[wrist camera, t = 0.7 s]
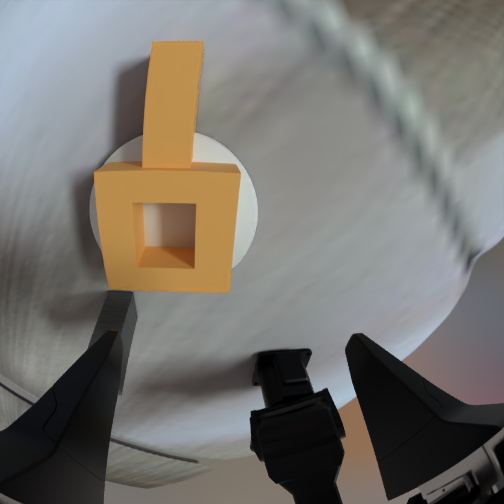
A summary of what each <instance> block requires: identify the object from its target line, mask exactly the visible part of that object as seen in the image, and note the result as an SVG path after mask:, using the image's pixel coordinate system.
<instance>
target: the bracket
mask: <svg viewBox="0 0 504 504" xmlns="http://www.w3.org/2000/svg"><path fill="white" fill-rule="evenodd" d="M203 55H204V45H203V41H162V42H152V48H151V55H150V62H149V70H148V78H147V87H146V98H145V111H144V127H143V135H141V136H138V137H136V138H134V139H132V140H130V141H129V142H127V143H125V144H124V145H123V146H121V147H120V148H119V149H117V150H116V151H115V152H114V153H113V154H112V155H111V156H110V157H109V158H108V159H107V161H106V162H105V163H104V165H103V166H102V167H101V168H99V169H98V170H96V171H94V184H93V187H92V192H91V196H90V206H89V210H90V221H91V227H92V230H93V233H94V237H95V239H96V241H97V243H98V245H99V247H100V249H101V251H102V254H103V260H104V266H105V271H106V276H107V281H108V286H109V289H118V290H138V291H161V292H195V293H230V282H231V271H232V269H233V268H234V267H235V266H236V265H237V264H238V263H239V262H240V261H241V260H242V258H243V257H244V255H245V254H246V252H247V251H248V249H249V247H250V245H251V243H252V240H253V237H254V235H255V231H256V226H257V219H258V206H257V198H256V194H255V190H254V187H253V184H252V182H251V179H250V177H249V176H248V174H247V172H246V170H245V168H244V167H243V165H242V164H241V163H240V161H239V160H238V159H237V158H236V157H235V156H234V155H233V154H232V153H231V152H230V151H229V150H228V149H227V148H226V147H224V146H223V145H222V144H220V143H219V142H217V141H215V140H214V139H212V138H210V137H208V136H205V135H203V134H200V133H197V132H195V127H196V116H197V105H198V96H199V87H200V78H201V70H202V63H203Z"/></svg>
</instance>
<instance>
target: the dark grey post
mask: <svg viewBox="0 0 504 504" xmlns="http://www.w3.org/2000/svg"><path fill="white" fill-rule="evenodd" d="M137 317H138V316H137V311H136V305H135V300H134V294H133V292H116V291H109V293H108V296H107V298H106V300H105V303H104V305H103V308H102V310H101V313H100V315H99V318H98V321H97V323H96V326H95V329H94V332H93V334H92V337H91V340H90V343H89V346H88V349H89V348H90V347H91V346H92V345H93V344H94V343H95V342H96V341H97V340H98V339H99V338H100V337H101V336H102V335H103V334H104V333H105V332H106V331H107V330H108V329H113V330H118V331H119V332H120V335H121V339H122V344H123V357H122V365H121V375H120V385H119V392H118V394H119V395H122V391H123V385H124V379H125V373H126V368H127V363H128V358H129V353H130V348H131V344H132V339H133V334H134V330H135V326H136V322H137ZM88 349H87V350H88Z"/></svg>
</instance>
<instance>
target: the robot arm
mask: <svg viewBox="0 0 504 504" xmlns="http://www.w3.org/2000/svg"><path fill="white" fill-rule="evenodd" d="M345 354H346V358H347V362H348V366H349V371H350V375H351V379H352V383H353V386H354V389H355V392H356V395H357V398H358V401H359V404H360V407H361V410H362V413H363V416H364V420H365V423H366V426H367V429H368V432H369V435H370V439H371V442H372V445H373V448H374V452H375V455H376V459H377V462H378V466H379V470H380V473H381V477H382V481H383V485H384V488H385V492H386V496H387V499H388V500H391V499H394V498H396V497H398V496H400V495H403V494H405V493H407V492H409V491H411V490H413V489H415V488H417V487H419V490H420V493H418V494H416V495H415V496H413V497H411V498H409V500H408V502H407V504H504V403H499V404H489V405H468V404H466V403H463V402H461V401H460V400H458V399H456V398H455V397H453V396H451V395H450V394H448V393H446V392H445V391H443V390H441V389H440V388H438V387H437V386H435V385H434V384H432V383H431V382H429V381H428V380H426V379H425V378H424V377H422V376H421V375H419V374H418V373H417V372H415V371H414V370H413V369H411V368H410V367H408V366H407V365H406V364H404V363H403V362H401V361H400V360H399V359H397V358H396V357H395V356H393V355H392V354H390V353H389V352H388V351H386V350H385V349H383V348H382V347H381V346H379V345H378V344H377V343H375V342H374V341H372V340H371V339H370V338H368V337H367V336H365V335H364V334H363V333H355V334H353V335H352V336H351V338H350V340H349V341H348V343H347V345H346V348H345ZM311 355H312V351H311V349H303V350H291V351H277V352H262V353H259V354H258V356H257V360H256V365H255V370H254V374H253V379H252V384H253V385H254V386H261V389H262V394H263V399H264V403H265V408H264V409H260V410H253V411H251V417H250V426H251V442H250V449H251V451H253V452H255V453H256V455H257V456H258V458H259V460H260V461H261V462H265V466H266V469H267V472H268V476H269V477H270V478H271V479H272V480H273V481H274V482H275V483H276V484H280V485H281V486H282V487H284V488H285V489H286V490H287V491H288V492H290V493H291V494H292V495H293V498H294V501H295V504H343V503H342V500H341V497H340V494H339V491H338V488H337V485H336V480H337V477H338V474H339V471H340V467H341V464H342V461H343V457H344V449H343V446H342V443H341V440H340V439H342V438H345V437H346V435H345V430H344V427H343V423H342V421H341V418H340V415H339V413H338V411H337V408H336V406H335V404H334V402H333V400H332V397H331V395H330V393H329V391H328V389H327V388H325V389H323V390H322V391H319V392H316V393H314V390H313V387H312V385H311V382H310V379H309V376H308V373H307V371H306V367H307V364H308V362H309V360H310V357H311ZM122 357H123V344H122V339H121V335H120V332H119V331H118V330H113V329H108V330H107V331H106V332H105V333H104V334H103V335H102V336H101V337H100V338H99V339H98V340H97V341H96V342H95V343H94V344H93V345H92V346H91V347H90V348H89V349H88V350H87V351H86V352H85V353H84V354H83V355H82V356H81V357H80V358H79V359H78V360H77V361H76V362H75V363H74V364H73V365H72V366H71V367H70V368H69V369H68V370H67V371H66V372H65V373H64V374H63V375H62V376H61V377H60V378H59V379H58V380H57V381H56V382H55V384H54V385H53V386H52V387H51V388H50V389H49V390H48V391H47V392H46V393H45V394H44V395H43V396H42V397H41V398H40V399H39V400H38V401H37V402H36V403H35V404H34V405H33V406H32V407H31V408H29V409H28V410H27V411H26V412H25V413H24V414H23V415H21V416H20V417H19V418H18V419H17V420H16V421H14V422H13V423H12V424H11V425H10V426H9V427H7V428H6V429H4V430H2V431H0V504H103V503H104V487H105V483H104V482H105V475H106V466H107V457H108V450H109V443H110V436H111V429H112V423H113V418H114V412H115V407H116V402H117V397H118V392H119V385H120V375H121V365H122Z"/></svg>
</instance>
